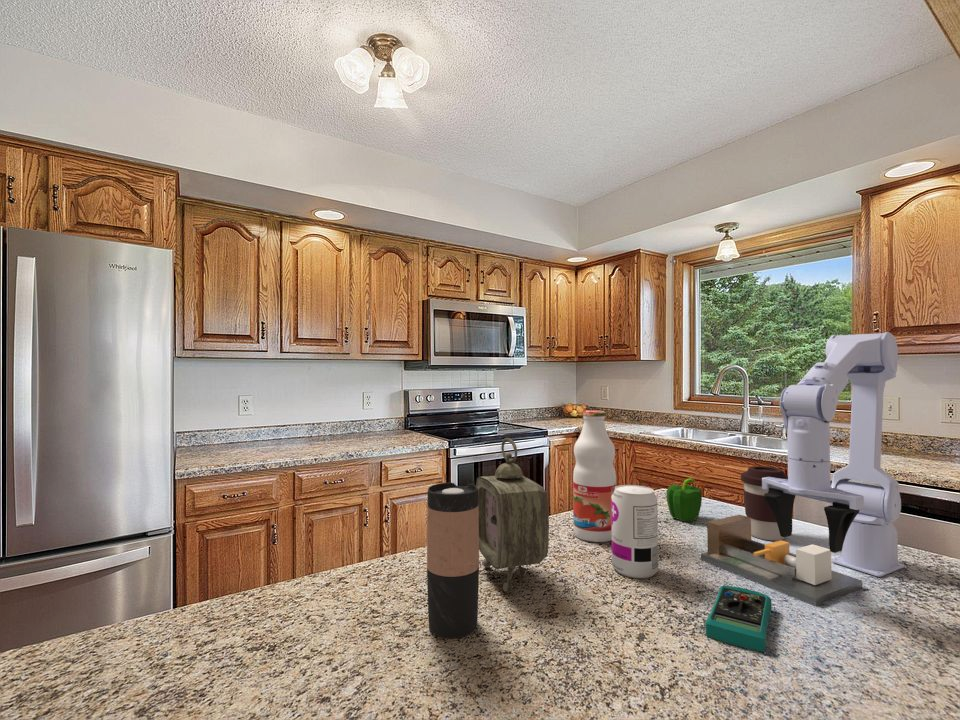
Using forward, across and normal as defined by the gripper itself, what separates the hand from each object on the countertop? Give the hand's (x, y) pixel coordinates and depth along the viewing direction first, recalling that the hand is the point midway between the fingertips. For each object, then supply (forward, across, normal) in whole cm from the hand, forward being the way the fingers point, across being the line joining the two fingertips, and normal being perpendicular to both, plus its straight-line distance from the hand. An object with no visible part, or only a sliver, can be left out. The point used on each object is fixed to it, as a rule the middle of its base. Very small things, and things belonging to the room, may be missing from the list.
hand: (809, 543), depth 79 cm
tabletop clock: (+9, -30, -39) cm, 50 cm away
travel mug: (+9, -20, -54) cm, 59 cm away
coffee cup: (+10, -22, +24) cm, 34 cm away
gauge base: (+9, -9, +6) cm, 14 cm away
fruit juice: (+9, -40, -11) cm, 42 cm away
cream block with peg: (+8, -4, +6) cm, 11 cm away
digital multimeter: (+10, -1, -16) cm, 19 cm away
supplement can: (+9, -22, -16) cm, 29 cm away
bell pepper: (+10, -39, +17) cm, 44 cm away
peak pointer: (+8, -9, +4) cm, 12 cm away
